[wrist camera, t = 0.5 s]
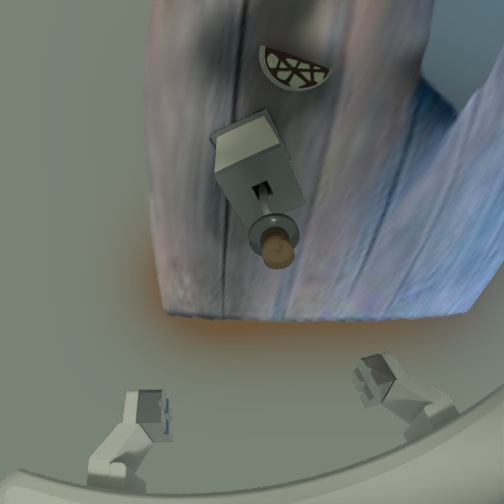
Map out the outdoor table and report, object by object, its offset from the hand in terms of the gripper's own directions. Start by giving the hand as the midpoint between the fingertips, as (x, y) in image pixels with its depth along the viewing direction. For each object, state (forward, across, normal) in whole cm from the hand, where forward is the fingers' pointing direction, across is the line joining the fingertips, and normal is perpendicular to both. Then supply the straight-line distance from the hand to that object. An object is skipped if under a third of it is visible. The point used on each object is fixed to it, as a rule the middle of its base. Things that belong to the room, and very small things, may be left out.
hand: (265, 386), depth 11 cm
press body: (+51, -8, -2) cm, 52 cm away
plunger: (+37, -7, +1) cm, 37 cm away
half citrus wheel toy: (+48, -14, -18) cm, 53 cm away
